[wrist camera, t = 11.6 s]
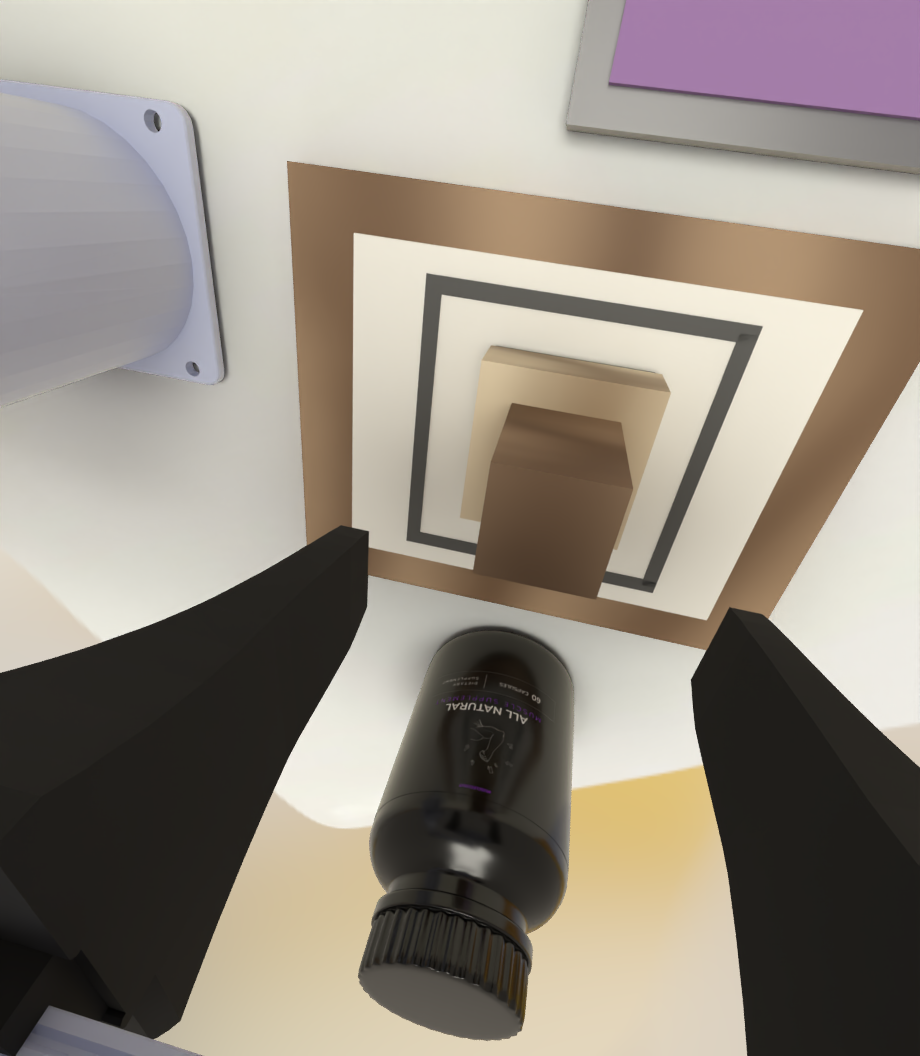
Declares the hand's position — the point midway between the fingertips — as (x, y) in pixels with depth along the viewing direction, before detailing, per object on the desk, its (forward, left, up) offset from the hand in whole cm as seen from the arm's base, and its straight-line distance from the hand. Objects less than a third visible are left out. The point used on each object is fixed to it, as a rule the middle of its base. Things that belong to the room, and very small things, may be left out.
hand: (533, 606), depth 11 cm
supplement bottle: (0, -12, -9) cm, 15 cm away
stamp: (0, +1, -8) cm, 8 cm away
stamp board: (0, 0, -9) cm, 9 cm away
